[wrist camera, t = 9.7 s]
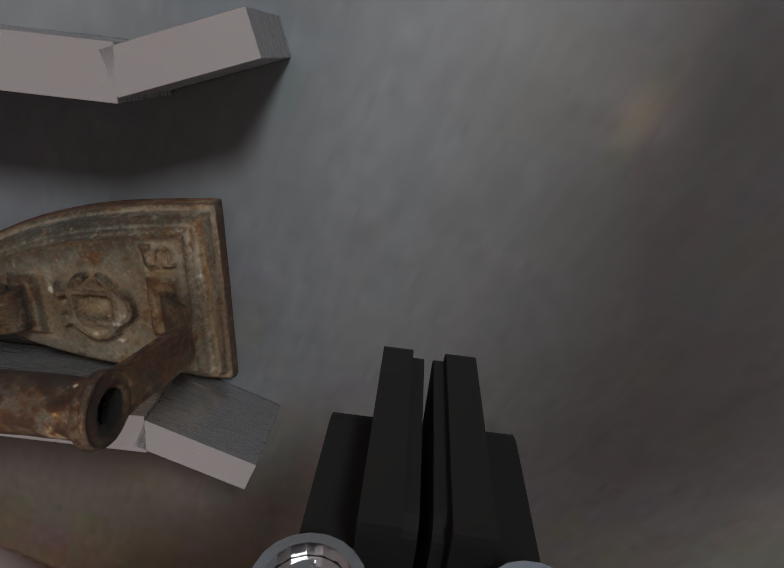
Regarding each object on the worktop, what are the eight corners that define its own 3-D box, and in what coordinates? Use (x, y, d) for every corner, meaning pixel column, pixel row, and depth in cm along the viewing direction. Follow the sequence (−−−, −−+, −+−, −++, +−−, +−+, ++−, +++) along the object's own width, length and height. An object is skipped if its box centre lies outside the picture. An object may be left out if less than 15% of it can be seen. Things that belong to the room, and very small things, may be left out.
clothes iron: (265, 362, 23) (78, 586, 14) (42, 319, 25) (-225, 485, 17) (244, 197, 19) (-17, 362, 11) (-10, 169, 22) (-376, 282, 14)
